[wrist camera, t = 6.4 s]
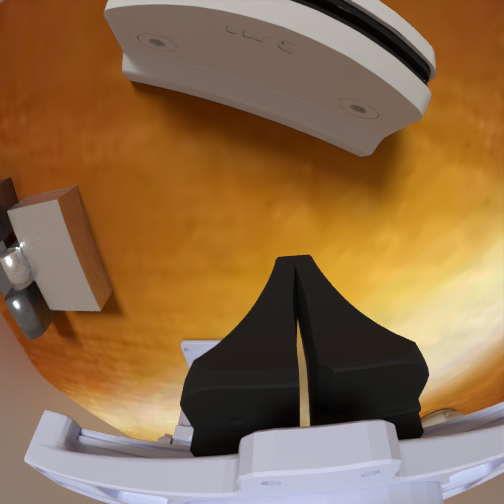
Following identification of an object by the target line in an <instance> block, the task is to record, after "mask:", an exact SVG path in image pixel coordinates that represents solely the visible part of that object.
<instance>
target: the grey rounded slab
mask: <svg viewBox="0 0 504 504" xmlns="http://www.w3.org/2000/svg"><path fill="white" fill-rule="evenodd" d="M104 17H105V19H106V20H107V22H108V24H109V26H110V28H111V30H112V31H113V33H114V35H115V37H116V39H117V40H118V42H119V44H120V46H121V48H122V50H123V64H122V72H123V74H124V75H125V76H126V77H127V78H128V79H129V80H130V81H134V82H139V83H144V84H148V85H153V86H157V87H162V88H166V89H170V90H174V91H178V92H182V93H186V94H189V95H193V96H197V97H200V98H204V99H207V100H211V101H214V102H217V103H221V104H224V105H227V106H230V107H234V108H237V109H240V110H243V111H246V112H249V113H252V114H255V115H258V116H261V117H263V118H266V119H269V120H272V121H275V122H277V123H280V124H283V125H285V126H288V127H291V128H293V129H296V130H298V131H301V132H304V133H306V134H308V135H311V136H313V137H316V138H318V139H321V140H323V141H325V142H328V143H330V144H332V145H335V146H337V147H339V148H342V149H344V150H346V151H348V152H350V153H353V154H355V155H357V156H359V157H363V156H369V155H371V154H372V153H373V152H374V150H375V149H376V148H377V146H378V145H379V143H380V142H381V141H382V140H383V138H384V137H386V136H388V135H390V134H392V133H394V132H396V131H398V130H400V129H402V128H404V127H406V126H408V125H410V124H412V123H414V122H416V121H418V120H420V119H422V116H423V114H424V112H425V110H426V108H427V106H428V104H429V102H430V99H431V92H430V90H429V89H428V86H427V83H428V82H429V81H430V80H432V79H433V78H434V77H435V75H436V65H435V54H434V50H433V48H432V47H431V46H430V44H429V43H428V42H427V41H426V40H425V39H424V38H423V37H422V36H421V35H420V34H419V33H418V32H417V31H416V30H415V29H414V28H413V27H412V26H411V25H410V24H408V23H407V22H406V21H405V20H404V19H403V18H402V17H400V16H399V15H398V14H397V13H396V12H394V11H393V10H392V9H390V8H389V7H387V6H386V5H385V4H383V3H382V2H380V1H379V0H108V2H107V5H106V8H105V11H104Z"/></svg>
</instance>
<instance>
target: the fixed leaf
mask: <svg viewBox="0 0 504 504" xmlns="http://www.w3.org/2000/svg"><path fill="white" fill-rule="evenodd" d="M17 203H18V201H17V198H16V194H15V191H14V188H13V185H12V181H11V178H7V179H4V180H1V181H0V254H1V253H2V252H3V251H4V250H5V249H7V248H8V247H9V246H10V245H11V244H12V243H13V240H12V238H11V235H10V234H11V233H12V232H13V231H14V229H13V227H12V224H11V221H10V218H9V216H8V213H7V211H8V210H9V209H10V208H12V207H13V206H14V205H16V204H17ZM0 291H1V292H2V294H3V296H4V298H5V303H6V305H7V306H8V308H9V310H10V312H11V313H12V315H13V317H14V318H15V320H16V322H17V323H18V325H19V327H20V328H21V330H22V331H23V333H24V334H25V336H26V337H27V338H28V339H35V338H38V337H39V336H41V335H42V334H43V333H44V332H45V331H46V330H47V328H48V327H49V325H50V324H51V322H52V321H53V319H54V318H55V316H56V315H57V313H58V312H59V311H60V310H50V308H49V306H48V304H47V302H46V301H45V299H44V297H43V295H42V293H41V291H40V289H39V287H38V285H37V283H36V281H33V282H32V283H31V284H30V285H29V286H27V287H26V288H24V289H22V290H18V291H16V290H14V289H13V287H12V285H11V283H10V281H9V279H8V277H7V275H6V273H5V270H4V268H3V266H2V264H1V262H0Z"/></svg>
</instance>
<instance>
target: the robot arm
mask: <svg viewBox="0 0 504 504" xmlns="http://www.w3.org/2000/svg"><path fill="white" fill-rule="evenodd" d="M297 317H298V323H299V328H300V333H301V338H302V344H303V349H304V354H305V360H306V367H307V379H308V394H309V412H310V426H308V427H300V385H299V368H298V357H297V346H296V344H297ZM181 349H182V351H183V354H184V356H185V359H186V362H187V364H188V367H189V372H188V374H187V377H186V379H185V382H184V386H183V391H182V396H181V401H180V406H181V413H180V418H179V422H178V425H176V429H175V433H174V438H173V439H172V435H169V434H165V435H164V436H162V437H161V438H159V439H158V440H157V442H152V441H145V440H139V439H133V438H127V437H121V436H116V435H111V434H106V433H102V432H97V431H93V430H89V429H84V428H81V427H80V426H79V424H78V423H77V422H76V421H75V420H74V419H72V418H71V417H69V416H66V415H64V414H61V413H57V412H53V411H50V410H45V411H44V414H43V416H42V418H41V420H40V423H39V425H38V427H37V429H36V432H35V434H34V436H33V439H32V441H31V443H30V446H29V448H28V451H27V453H26V456H25V458H24V460H25V462H26V463H28V464H29V465H31V466H32V467H33V468H35V469H36V470H38V471H39V472H41V473H42V474H44V475H45V476H47V477H48V478H50V479H51V480H53V481H55V482H56V483H58V484H59V485H61V486H63V487H65V488H68V489H70V490H73V491H75V492H78V493H81V494H83V495H86V496H89V497H91V498H94V499H97V500H100V501H103V502H105V503H109V504H444V499H447V498H449V497H452V496H454V495H457V494H459V493H461V492H464V491H466V490H468V489H471V488H473V487H475V486H477V485H479V484H481V483H483V482H485V481H487V480H489V479H491V478H493V477H495V476H497V475H499V474H501V473H503V472H504V402H501V403H499V404H496V405H493V406H491V407H488V408H485V409H483V410H480V411H477V412H474V413H471V414H468V415H465V416H462V417H459V418H456V419H453V420H449V421H446V422H442V423H439V424H435V425H432V426H428V427H424V428H423V427H422V423H421V419H420V416H419V412H420V411H421V406H420V403H419V399H418V398H419V397H420V395H421V393H422V391H423V389H424V387H425V385H426V383H427V380H428V377H429V371H428V367H427V364H426V362H425V359H424V357H423V355H422V353H421V352H420V350H419V348H418V347H417V345H416V343H415V342H413V341H411V340H409V339H406V338H404V337H402V336H400V335H397V334H395V333H393V332H391V331H389V330H388V329H386V328H384V327H382V326H380V325H379V324H377V323H376V322H374V321H373V320H371V319H370V318H368V317H367V316H365V315H364V314H362V313H361V312H360V311H358V310H357V309H356V308H355V307H354V306H352V305H351V304H350V303H349V302H348V301H347V300H346V299H345V298H344V297H343V296H342V295H341V294H340V293H339V292H338V291H337V290H336V289H335V288H334V287H333V286H332V284H331V283H330V282H329V281H328V280H327V278H326V277H325V276H324V275H323V273H322V272H321V271H320V269H319V268H318V266H317V265H316V263H315V262H314V260H313V258H312V257H311V256H310V255H297V256H284V257H278V258H277V259H276V261H275V265H274V268H273V271H272V273H271V276H270V278H269V280H268V282H267V284H266V286H265V288H264V290H263V291H262V293H261V295H260V296H259V298H258V300H257V301H256V303H255V304H254V306H253V307H252V308H251V310H250V311H249V312H248V314H247V315H246V316H245V317H244V318H243V320H242V321H241V322H240V323H239V324H238V325H237V326H236V327H235V328H234V329H233V330H232V331H231V332H230V333H229V334H228V335H227V336H226V337H225V338H224V339H223V340H184V341H182V342H181Z"/></svg>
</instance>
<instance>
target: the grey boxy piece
mask: <svg viewBox="0 0 504 504" xmlns="http://www.w3.org/2000/svg"><path fill="white" fill-rule="evenodd" d="M7 213H8V216H9V218H10V221H11V224H12V227H13V229H14V232H15V234H16V237H17V239H16V240H15V241H14V242H13V243H12V244H11V245H10V246H9V247H8V248H7V249H5V250H4V251H3V252H2V253H1V254H0V262H1V264H2V266H3V268H4V270H5V273H6V275H7V277H8V279H9V281H10V283H11V285H12V287H13V289H14V290H16V291H18V290H22V289H24V288H26V287H27V286H29V285H30V284H31V283H32V282H33V281H36V283H37V285H38V287H39V289H40V291H41V293H42V295H43V297H44V299H45V301H46V302H47V304H48V306H49V308H50V310H68V311H101V310H102V308H103V307H104V305H105V303H106V301H107V300H108V298H109V296H110V294H111V293H112V291H113V289H112V286H111V284H110V281H109V279H108V276H107V274H106V271H105V269H104V266H103V263H102V261H101V258H100V255H99V252H98V249H97V247H96V244H95V241H94V238H93V235H92V232H91V229H90V226H89V223H88V220H87V217H86V213H85V210H84V207H83V204H82V200H81V197H80V193H79V190H78V186H77V185H74V186H69V187H64V188H60V189H56V190H51V191H47V192H43V193H39V194H35V195H31V196H27V197H26V198H24V199H23V200H21V201H20V202H19V203H17V204H16V205H14V206H13V207H12V208H10V209H9V210H8V211H7Z"/></svg>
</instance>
